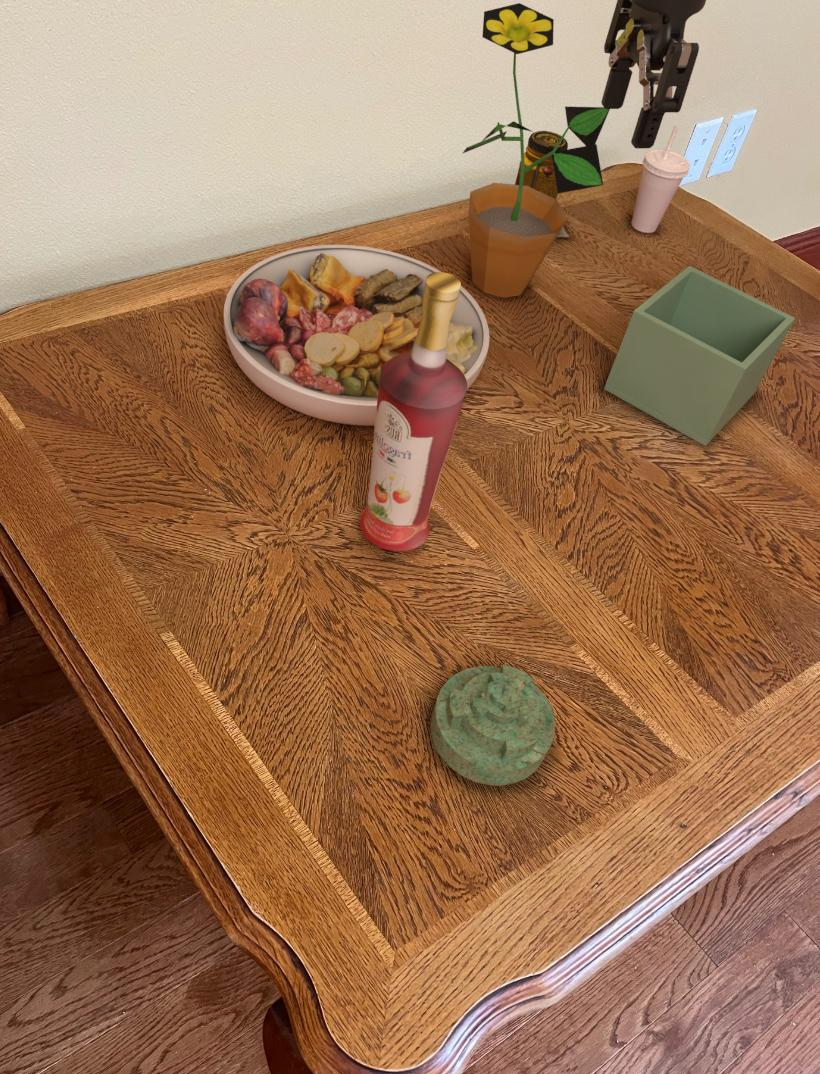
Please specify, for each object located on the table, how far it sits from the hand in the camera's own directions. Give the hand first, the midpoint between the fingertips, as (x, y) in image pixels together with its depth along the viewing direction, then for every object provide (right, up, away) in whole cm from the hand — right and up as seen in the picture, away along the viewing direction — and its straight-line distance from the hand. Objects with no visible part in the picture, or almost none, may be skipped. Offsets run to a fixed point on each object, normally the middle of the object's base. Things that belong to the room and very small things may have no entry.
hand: (625, 126), depth 97 cm
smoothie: (+13, +5, +40) cm, 42 cm away
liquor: (-24, -43, -4) cm, 49 cm away
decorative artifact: (-16, -60, -17) cm, 65 cm away
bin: (+11, -24, +15) cm, 30 cm away
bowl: (-28, -20, +13) cm, 37 cm away
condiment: (-3, +4, +36) cm, 37 cm away
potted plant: (-10, -8, +26) cm, 29 cm away
